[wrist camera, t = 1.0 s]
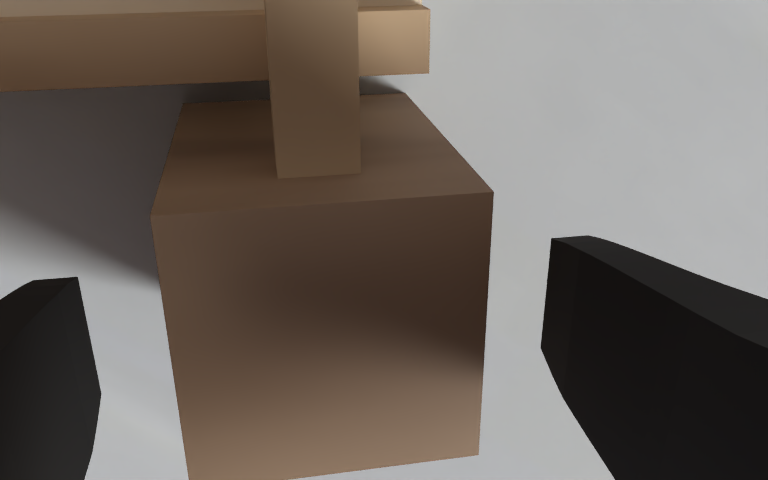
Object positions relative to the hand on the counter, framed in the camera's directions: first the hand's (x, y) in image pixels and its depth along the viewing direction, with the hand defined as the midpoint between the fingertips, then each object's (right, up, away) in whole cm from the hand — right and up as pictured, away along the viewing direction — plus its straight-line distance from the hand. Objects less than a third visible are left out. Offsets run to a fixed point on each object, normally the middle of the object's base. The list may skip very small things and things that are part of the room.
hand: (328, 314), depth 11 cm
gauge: (-1, +4, +4) cm, 6 cm away
